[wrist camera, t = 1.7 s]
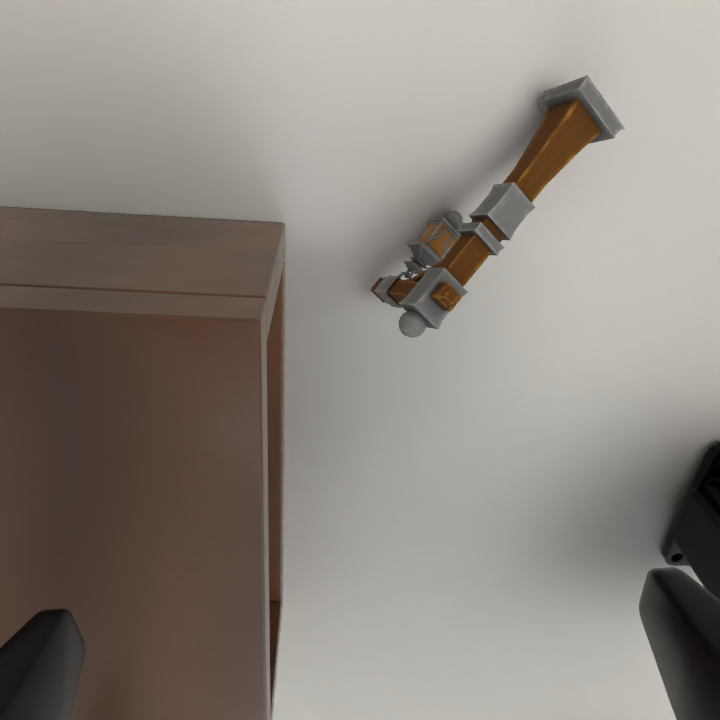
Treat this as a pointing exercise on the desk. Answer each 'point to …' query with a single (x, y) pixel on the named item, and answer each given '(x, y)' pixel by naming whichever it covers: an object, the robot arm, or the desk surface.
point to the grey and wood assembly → (495, 209)
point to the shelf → (146, 454)
